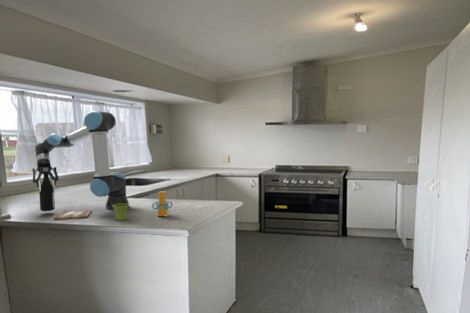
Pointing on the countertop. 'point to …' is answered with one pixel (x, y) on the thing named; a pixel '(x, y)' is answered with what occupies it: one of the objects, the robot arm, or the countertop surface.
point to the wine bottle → (46, 192)
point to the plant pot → (120, 211)
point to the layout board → (73, 215)
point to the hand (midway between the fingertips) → (47, 189)
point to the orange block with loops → (162, 204)
